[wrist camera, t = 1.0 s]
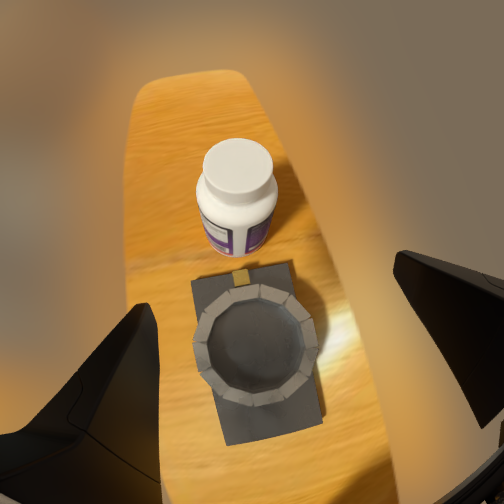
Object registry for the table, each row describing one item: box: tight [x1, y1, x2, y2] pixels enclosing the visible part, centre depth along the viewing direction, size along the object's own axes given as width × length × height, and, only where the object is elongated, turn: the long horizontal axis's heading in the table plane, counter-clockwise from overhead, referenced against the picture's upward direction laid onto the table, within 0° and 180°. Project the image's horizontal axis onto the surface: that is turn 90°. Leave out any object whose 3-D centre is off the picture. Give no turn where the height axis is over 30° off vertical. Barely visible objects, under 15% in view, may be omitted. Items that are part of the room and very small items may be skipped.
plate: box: [191, 263, 323, 446], centre depth 20 cm, size 14×8×1 cm, turn 12°
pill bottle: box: [196, 138, 278, 257], centre depth 19 cm, size 5×5×10 cm
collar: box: [192, 269, 319, 407], centre depth 20 cm, size 10×9×2 cm
